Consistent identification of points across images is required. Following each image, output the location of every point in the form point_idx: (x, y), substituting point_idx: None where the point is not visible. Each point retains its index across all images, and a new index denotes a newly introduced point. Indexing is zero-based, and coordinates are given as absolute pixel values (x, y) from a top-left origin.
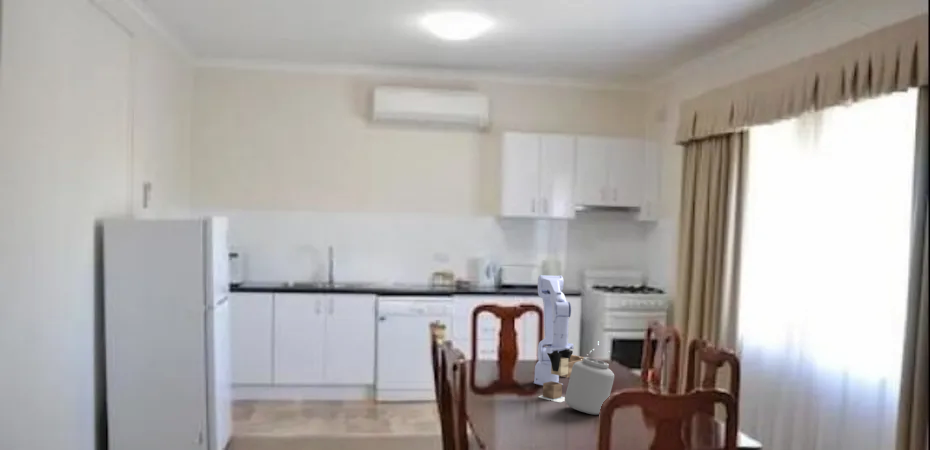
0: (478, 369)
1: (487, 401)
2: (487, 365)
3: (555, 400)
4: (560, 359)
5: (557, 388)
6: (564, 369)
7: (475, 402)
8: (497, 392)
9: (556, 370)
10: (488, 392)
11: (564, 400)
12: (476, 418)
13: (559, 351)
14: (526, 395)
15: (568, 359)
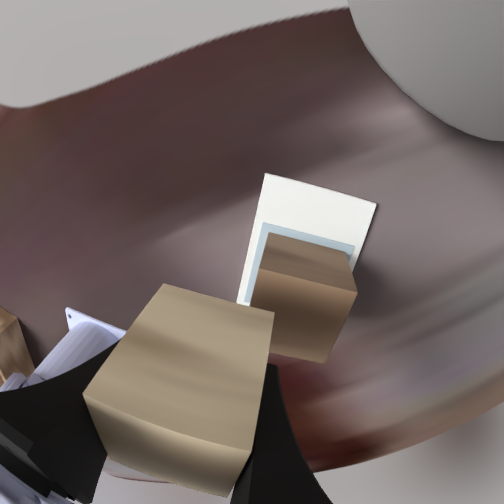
0: (154, 478)
1: (453, 408)
2: (114, 466)
3: (355, 234)
4: (239, 457)
5: (313, 269)
6: (203, 331)
7: (468, 417)
8: (337, 435)
9: (278, 376)
10: (351, 445)
11: (325, 191)
12: None
13: (89, 493)
14: (324, 371)
15: (75, 378)
